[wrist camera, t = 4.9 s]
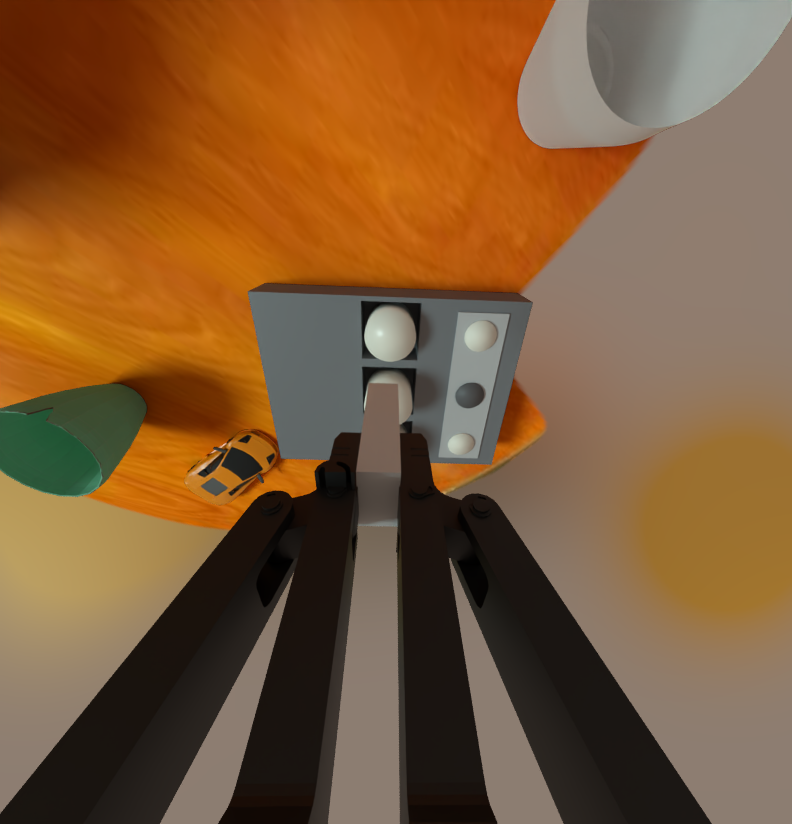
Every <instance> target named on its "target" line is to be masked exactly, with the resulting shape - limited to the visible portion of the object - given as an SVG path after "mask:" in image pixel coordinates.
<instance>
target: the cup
mask: <svg viewBox="0 0 792 824" xmlns="http://www.w3.org/2000/svg"><path fill="white" fill-rule="evenodd" d="M791 18H792V0H556V1H555V3H554V5H553V8H552V10H551V12H550V14H549V16H548V18H547V20H546V22H545V24H544V26H543V29H542V31H541V33H540V35H539V37H538V39H537V41H536V43H535V45H534V48H533V50H532V52H531V54H530V56H529V58H528V60H527V62H526V65H525V67H524V70H523V72H522V76H521V79H520V83H519V89H518V101H517V105H518V114H519V119H520V122H521V125H522V128H523V130H524V131H525V133H526V135H527V136H528V137H529V138H530V139H531V141H533V142H534V143H535V144H537V145H539V146H541V147H544V148H549V149H559V148H585V147H609V146H621V145H627V144H632V143H636V142H639V141H642V140H645V139H647V138H649V137H652V136H654V135H656V134H658V133H660V132H662V131H664V130H667V129H669V128H671V127H673V126H676V125H678V124H681V123H683V122H686V121H688V120H690V119H692V118H694V117H696V116H698V115H700V114H702V113H704V112H705V111H707V110H709V109H710V108H712V107H713V106H714V105H716V104H718V103H719V102H720V101H722V100H723V99H724V98H725V97H727V96H728V95H729V94H730V93H731V92H732V91H734V90H735V89H736V88H737V87H738V86H739V85H740V84H741V83H742V82H743V81H744V80H745V79H746V78H747V77H748V76H749V75H750V74H751V73H752V72H753V71H754V70H755V68H756V67H757V66H758V65H759V64H760V63H761V61H762V60H763V59H764V58H765V56H766V55H767V54H768V53H769V51H770V50H771V48H772V47H773V46H774V44H775V43H776V42H777V40H778V39H779V37H780V36H781V34H782V33H783V31H784V29H785V28H786V26H787V25H788V23H789V21H790V20H791Z"/></svg>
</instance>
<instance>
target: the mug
mask: <svg viewBox="0 0 792 824" xmlns="http://www.w3.org/2000/svg"><path fill="white" fill-rule="evenodd" d="M146 412H147V405H146V403H145V401H144V399H143V398H142V397H141V396H140V394H138V393H137V392H136V391H135V390H133V389H131V388H129V387H127V386H125V385H122V384H104V385H94V386H87V387H81V388H76V389H71V390H65V391H61V392H57V393H52V394H48V395H44V396H40V397H37V398H34V399H31V400H27V401H24V402H21V403H17V404H14V405H10V406H7V407H4V408H0V470H1V471H2V472H3V473H4V474H6V475H7V476H9V477H11V478H13V479H14V480H16V481H18V482H20V483H21V484H23V485H25V486H28V487H30V488H33V489H36V490H38V491H41V492H44V493H49V494H53V495H57V496H72V497H74V496H75V497H78V496H83V495H87V494H91V493H92V492H94V491H95V490H96V489H98V488H99V487H100V486H101V485H102V484H104V483H105V482H106V480H107V479H108V478H109V477H110V475H111V474H112V472H113V471H114V470H115V468H116V467H117V465H118V464H119V462H120V461H121V460H122V458H123V457H124V455H125V454H126V452H127V451H128V449H129V448H130V446H131V444H132V443H133V441H134V439H135V437H136V435H137V433H138V431H139V429H140V427H141V424H142V422H143V419H144V417H145V414H146Z"/></svg>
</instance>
